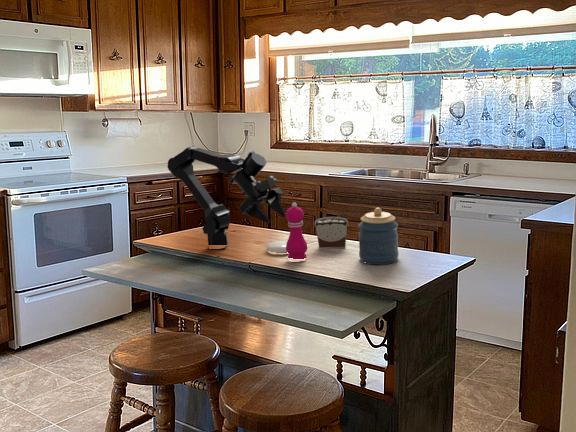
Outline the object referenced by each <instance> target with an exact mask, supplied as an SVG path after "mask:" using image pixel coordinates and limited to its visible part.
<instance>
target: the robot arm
mask: <svg viewBox="0 0 576 432" xmlns="http://www.w3.org/2000/svg"><path fill="white" fill-rule="evenodd" d="M196 161H197V162H201V163H204V164H208V165H211V166H214V167H215V168H217V170H218V171H220V172H222V173H223V174H225V175H229V174H233V173H235V174H234V175H232V176H230V181H229V183H230V184H229V185H235V184H236V185H238V187H239V188H240V189H241V191H243V193H242V196H243V197H245V196H246V198H245V199H244V200H243V201H242V202H241V204H240V205H239V211H240V212H241V213H242V215H246V216H251V217H252V218H256V219H257V220H260V221H261V222H263V223H266V224H269V223H270V219H269V217H268V216H267V215H266V213H265V211H264V210H263V208H261V207H262V206H261V204H263V203H266V205H268V207H269V208H270V209H272V210H273V211H275V212H276V213H277V214H278V215H279V216H280V217H283V218H284V217H286V213H285V211H284V207H283V205H282V201H281V199H282V197H283V194H284V191H283V190H282V189H281V188H280V187H277V184H278V183H277V182H278V181H277V178H275V176H274V175H269V177H266V179H265V180H262V181H261V180H256V179H255V177H257V176H258V175H259V174H260V173H261V172H262V170H263V169H264V167H265V166H266V164H267V161H266V159H265V157H264V156H262V155H260V154H259V153H256V152H255V151H249V152H248V154H247V155H246V157H245V158H242V157H241V156H240V155H237V154H221V153H217V152H214V151H210V150H206V149H204V148H200V147H198V146H195V145H192V146H188V147H186V148H185V149H183V150H182V151H181V152H179V153H177V154H176V155H175V156H174V157H170V158H169V159H168V161H167V170H168V171H169V172H170V173H171V174H172V175H173V176H174V177H175V178H177V179H179V180H181V181H182V183H183V184H185V186H186V188H187V189H188V190H189V192H190V193H191V194H192V196H193V197H194V199H195V200H196V201H197V203H198V204H199V206H200V207H201V209H202V210H203V212H204V220H205V222H206V223H204V225H203V226H202V232H203V234H205V235H207V244H208V245H227V244H229V242H228V234H227V233H226V231H227V230H229V227H230V224H231V219H232V217H231V215H230V213H231V212H230V210H228V209H227V208H226V206H225V205H224V203H221V204H217V203H216V202H215V201H214V199H213V198H212V197H211V195H210V193H208V191H207V190H206V188H205V186H204V185H203V184H202V183H201V181H200V180H199V177H197V176H196V174H195V173H194V166H193V163H194V162H196ZM272 188H273V189H272ZM270 189H271V190H270ZM208 245H207V246H208ZM227 246H228V245H227Z"/></svg>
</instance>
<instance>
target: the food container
mask: <svg viewBox="0 0 576 432" xmlns="http://www.w3.org/2000/svg"><path fill="white" fill-rule="evenodd" d="M348 226H350V225H349V221H348V219H347V218H344V217H341V216H326V217H320V218H317V219H316V220H315V221H314V224H313V227H314V228H315V229H316V238H317V243H318V249H339V248H341V249H342V248H343V249H344V248H346V245H347V243H346V242H347V232H348V229H347V228H348Z"/></svg>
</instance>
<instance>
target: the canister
mask: <svg viewBox="0 0 576 432" xmlns="http://www.w3.org/2000/svg"><path fill="white" fill-rule="evenodd" d="M395 220H396V216H394V215H392V214H391V213H390V212H386V211H382V208H380V207H375V208H374V210H373V211H370V212H367V213H365V214H364V215H363V216H361V217H360V222H359V224H358V225H357V226H358V228H359V233H358V242H359V243H358V245H359V247H358V248H359V252H358V256H359V260H360V261H361V262H362V263H364V262H366V263H370V264H369V265H372V264H385V265H389V264H393V263H396V262H397V261H398V259H399V241H398V240H399V233H398V232H397V230H398V229H397V228H398V227H399V223H398V222H396V221H395ZM366 263H365V264H366Z"/></svg>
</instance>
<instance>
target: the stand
mask: <svg viewBox="0 0 576 432" xmlns="http://www.w3.org/2000/svg"><path fill="white" fill-rule="evenodd" d="M287 241H288V240H277V241H272V242H269V243H267V245H266V251H267V250H268V251H271V252H276V253H287V251H286V244H287Z"/></svg>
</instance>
